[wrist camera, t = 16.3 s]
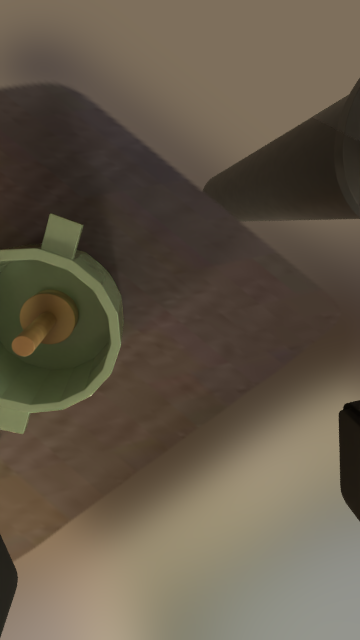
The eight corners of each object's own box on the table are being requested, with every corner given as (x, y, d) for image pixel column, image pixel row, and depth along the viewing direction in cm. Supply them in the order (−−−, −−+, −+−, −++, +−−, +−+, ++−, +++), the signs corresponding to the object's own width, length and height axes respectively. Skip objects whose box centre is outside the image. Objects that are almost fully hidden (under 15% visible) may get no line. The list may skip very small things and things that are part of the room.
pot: (149, 244, 32) (152, 250, 25) (94, 408, 36) (84, 453, 29) (5, 192, 29) (-37, 182, 22) (-36, 376, 34) (-82, 418, 26)
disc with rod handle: (84, 298, 32) (66, 325, 24) (71, 343, 33) (49, 384, 25) (33, 282, 31) (-6, 304, 23) (20, 329, 32) (-21, 367, 24)
